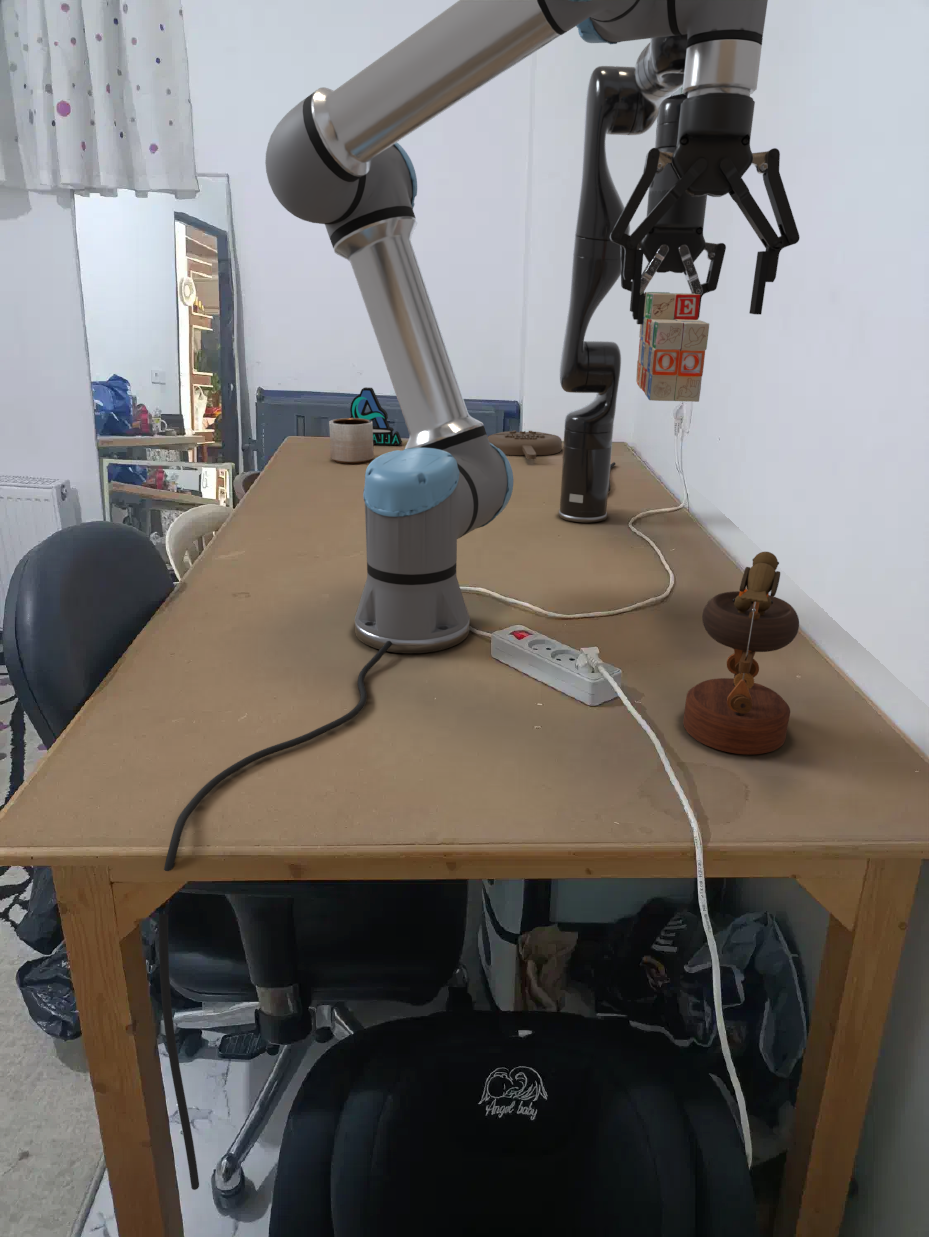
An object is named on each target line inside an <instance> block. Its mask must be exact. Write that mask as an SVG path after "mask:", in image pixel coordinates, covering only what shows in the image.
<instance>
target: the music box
mask: <svg viewBox="0 0 929 1237" xmlns="http://www.w3.org/2000/svg"><path fill="white" fill-rule="evenodd" d="M778 560H779V559H777V556H776V555H775V554H774V553H773V552H770V551H761V552H758V553H757V554H756V555H755V556H754V557H753V558H752V566H751V567H750V566H745V568H744V572H743V574H742V578H741V581H740V585H739V588H738V589H739V590H738V591H737V590H735V591H734V590H733V591H726V592H722V593H718V594H716V595H714V596H712V598H710V599H709V600H708V602H707V603H706V604H705V606H704V608H703V610H702V614H701V615H702V617H701V619H702V620H701V621H702V625H703V628H704V630H705V632H706V633H707V634H708V635H709V637H711V639H712V640H714V641H716V642H717V643H719V644H721V645H722V646H725V647H728V648H731V649H733V652H734V653H732V654H730V655H729V656H728V657H727V659H726V668H727V670H728V671H729V672H730V673H732V674H733V678H729V677H728V678H727V677H724V678H723V677H721V678H719V677H718V678H710V679H706V680H703V681H701V682H699V683H697V684H696V685H694V686H692V687H691V688H690V689H689V690H687V693H686V698H685V705H684V713H683V720H682V722H683V723H682V724H683V727H684V729H685V731H686V732H687V733H688V734H689V735H690V737H692V738H693V739H695V740H696V741H697V742H699V743H701V744H703V745H705V746H707V747H709V748H712V749H715V750H719V751H721V752H725V753H726V752H727V753H730V754H738V755H761V754H762V755H763V754H767V753H771V752H773V751H777V750H778V749H780V748H781V747H782V746H783V745H784V743H785V742H786V738H787V732H788V727H789V722H790V717H791V716H790V715H791V708H790V706H789V704H788V703H787V701H785V699H784V698H783V697H782V696H781V695H780V694H779V693H777V692H776V691H774V690H773V689H771V688H769V687H767V686H765V685H763V684H760V683H758V682H755V679H754V678H756V677H757V675H758V674H759V672H760V666H759V663H758V661H757V660H756V659H755V658H754V657H755V655H756V653H768V652H774V651H778V650H782V649H783V648H785V647H786V646H788V645H790V644H791V642H793V641H794V639H795V638H796V637H797V634H798V633H799V629H800V619H799V616H798V613H797V611H796V610H795V608H794V607H793V606H792V605H791V604H790V603H789V602H787V601H786V600H784V599H781V598H779V597H776V594H777V591H778V588H779V583H780V579H781V571H778V570H777V569H778V566H779V565H780V561H778Z"/></svg>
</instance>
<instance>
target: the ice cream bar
mask: <svg viewBox="0 0 929 1237" xmlns="http://www.w3.org/2000/svg"><path fill="white" fill-rule="evenodd" d="M487 437H488V440H489V442H490V443H492V444H493V445H494V446H495V447H497V448H499V449H500V450H501V451H502V452H503V453H504V454H505V456H507V455H508V456H525V458H526V459H527V460H537V456H548V455H554V454H558V453H560V452H561V451H562V448H563V447H562V446H563V441H562V438H561V437H560V436H559V435H556V434H551V433H547V432H540V431H533V430H528V431H526V430H524V431H522V430H520V431H517V430H512V431H511V430H509V431H501V432H497V433H493V434H490V435H487Z"/></svg>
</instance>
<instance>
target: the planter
mask: <svg viewBox="0 0 929 1237" xmlns="http://www.w3.org/2000/svg"><path fill="white" fill-rule="evenodd" d="M328 424H329V425H328V426H329V453H330V454H329V455H330V456H329V457H330V459H331V460H332V461H333V462H335V463H341V464H363V463H367V462H371V461H373V460H374V456H375V455H374V452H375V451H374V450H375V449H374V444H373V426H374V425H373V421H371V420H368V419H362V418H350V417H342V418H341V417H340V418H335V419H334V418H333V419H331V420H329V421H328Z"/></svg>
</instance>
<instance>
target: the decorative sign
mask: <svg viewBox="0 0 929 1237" xmlns="http://www.w3.org/2000/svg"><path fill="white" fill-rule="evenodd" d="M367 407H368V408H369V411H367V412H366V409H367ZM349 409H350V410H349V411H350V416H349V418H362V419H368V420H371V421H372V422H373V421H374V422H375V424H376V425H373V445H376V446H377V445H378V446H384V445H385V446H395V445H396V446H401V445H402V444H403V440H402V438H401V434H400V432H399V431H395V432H394V427H390V423H389V421H388V419H389V414H388V412H387V411H386V410H385V408H383V407H382V405H381V403H380V401H379V399H378V397H377V395H376V392H375V390H374V388H373V387H363V388H362V389H361V390H360V392H359V394H358V395H356V396H355V397H354V398H353V399H352V400H351V403H350V408H349ZM393 432H394V433H393Z"/></svg>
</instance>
